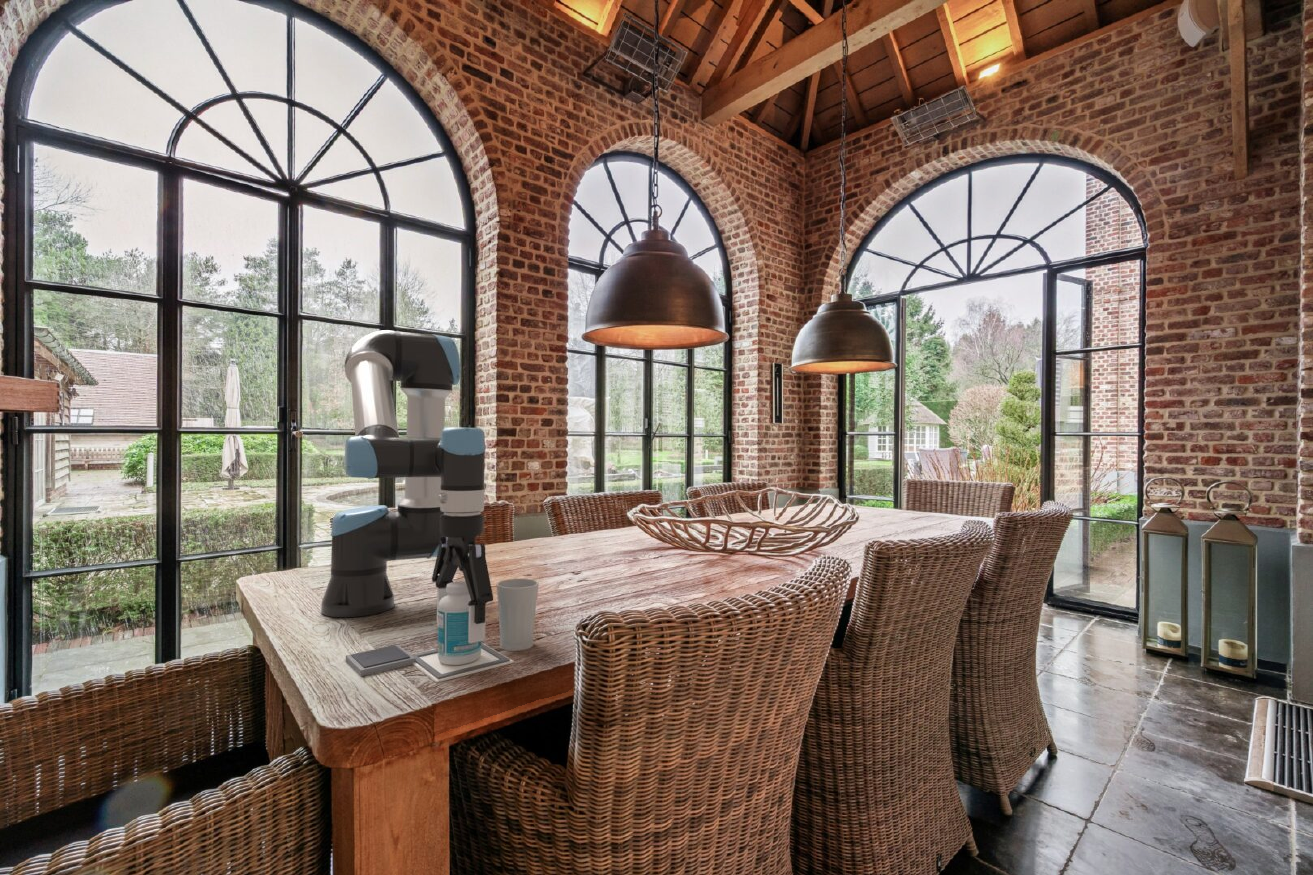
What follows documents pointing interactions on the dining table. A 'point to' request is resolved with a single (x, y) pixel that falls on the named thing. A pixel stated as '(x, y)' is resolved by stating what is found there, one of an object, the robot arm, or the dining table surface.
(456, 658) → the pill bottle
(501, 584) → the cup
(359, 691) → the dining table surface
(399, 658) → the ink pad
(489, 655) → the sheet
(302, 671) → the dining table surface
